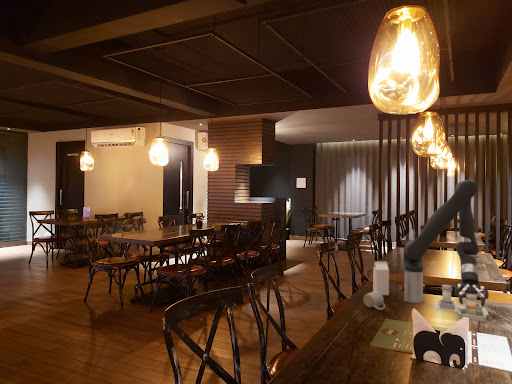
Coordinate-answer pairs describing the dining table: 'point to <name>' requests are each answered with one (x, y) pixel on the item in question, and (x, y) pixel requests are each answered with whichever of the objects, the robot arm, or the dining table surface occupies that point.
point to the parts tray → (472, 317)
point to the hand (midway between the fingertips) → (472, 304)
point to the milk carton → (381, 278)
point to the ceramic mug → (374, 300)
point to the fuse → (447, 293)
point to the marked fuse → (471, 304)
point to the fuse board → (456, 306)
